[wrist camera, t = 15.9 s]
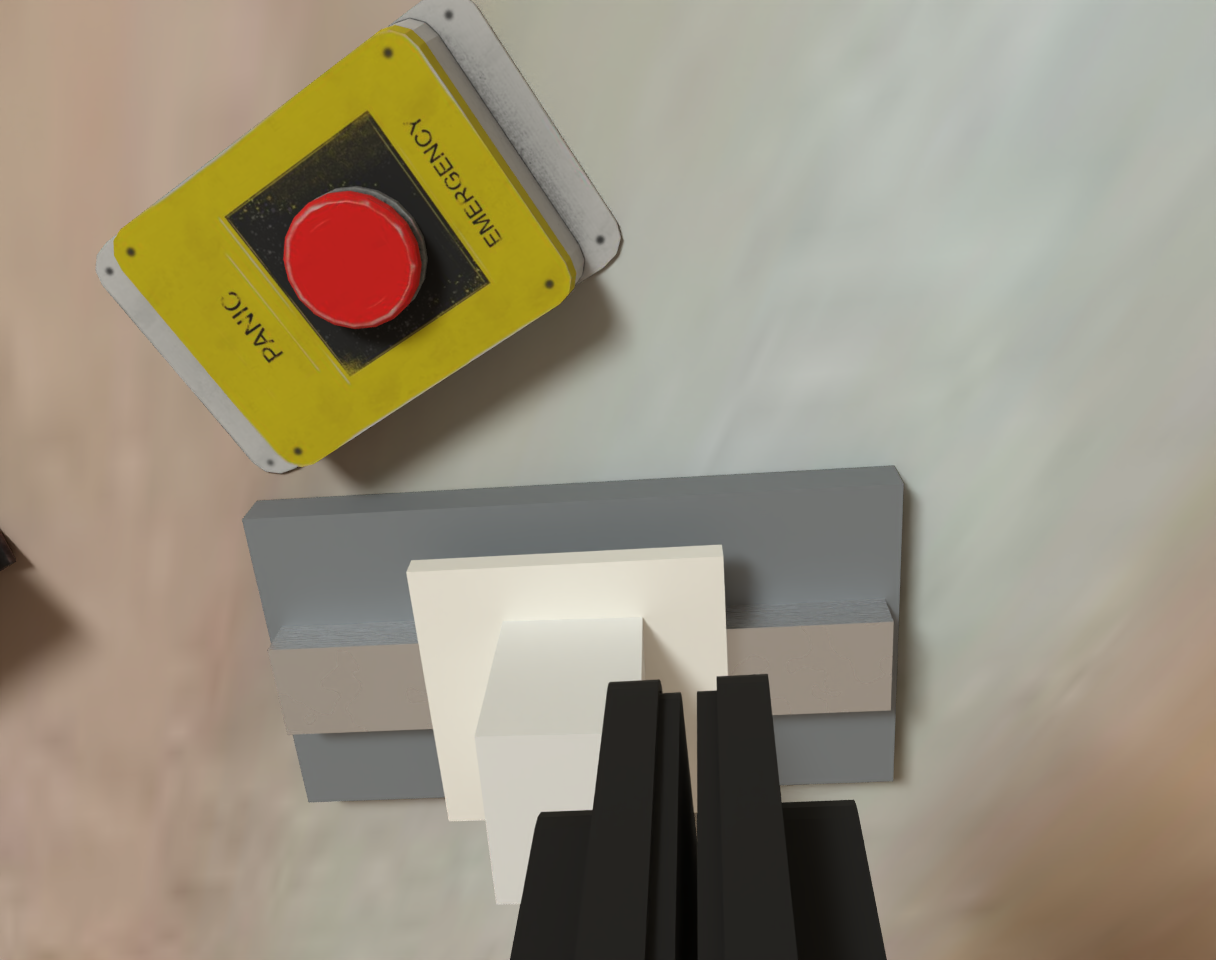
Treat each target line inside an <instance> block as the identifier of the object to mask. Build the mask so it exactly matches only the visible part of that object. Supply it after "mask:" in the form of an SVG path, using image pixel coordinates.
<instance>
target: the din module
mask: <svg viewBox="0 0 1216 960" xmlns="http://www.w3.org/2000/svg"><path fill="white" fill-rule="evenodd" d="M637 680H646V677H645V657H644V637H643V618H642V617H628V618H594V619H560V620H526V621H503V622H502V626H501V630H500V634H499V638H498V642H497V647H496V651H495V655H494V659H493V663H492V667H491V671H490V675H489V679H488V684H487V688H486V692H485V696H484V700H483V704H482V708H481V712H480V716H479V720H478V725H477V729H476V733H475V744H476V752H477V759H478V767H479V775H480V782H481V790H482V798H483V806H484V813H485V821H486V829H487V837H488V844H489V852H490V860H491V868H492V875H493V883H494V891H495V898H496V904H521V898H522V893H523V888H524V882H525V877H526V871H527V866H528V861H529V855H530V850H531V845H532V839H533V834H534V829H535V825H536V821H537V817H538V816H539V814H540V813H541V812H551V811H577V810H593V802H594V794H595V785H596V777H597V769H598V761H599V752H600V744H601V736H602V728H603V719H604V711H605V703H606V695H607V688H608V684H609V682H618V681H637Z"/></svg>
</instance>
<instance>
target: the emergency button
mask: <svg viewBox="0 0 1216 960" xmlns="http://www.w3.org/2000/svg"><path fill="white" fill-rule="evenodd" d="M620 239H621V234H620V231H619V227H618V224H617V221H616V219H615V218H614V216H613V215H612V213H611V211H610V210H609V208H608V207H607V205H606V204H605V202H604V201H603V199H602V198H601V196H600V195H599V193H598V191H597V190H596V188H595V187H594V185H593V184H592V182H591V181H590V179H589V178H588V176H587V175H586V173H585V171H584V170H583V168H582V167H581V165H580V164H579V162H578V161H577V159H576V158H575V156H574V155H573V153H572V151H571V150H570V148H569V147H568V145H567V144H566V142H565V141H564V139H563V138H562V136H561V134H560V133H559V131H558V130H557V128H556V127H555V125H554V124H553V122H552V121H551V119H550V118H549V116H548V114H547V113H546V111H545V110H544V108H543V107H542V105H541V104H540V102H539V101H538V99H537V98H536V96H535V94H534V93H533V91H532V90H531V88H530V87H529V85H528V84H527V82H526V81H525V79H524V78H523V76H522V74H521V73H520V71H519V70H518V68H517V67H516V65H515V64H514V62H513V61H512V59H511V57H510V56H509V54H508V53H507V51H506V50H505V48H504V47H503V45H502V44H501V42H500V41H499V39H498V37H497V36H496V34H495V33H494V31H493V30H492V28H491V27H490V25H489V24H488V22H487V21H486V19H485V17H484V16H483V14H482V13H481V11H480V10H479V8H478V7H477V5H476V4H475V3H474V2H472V1H471V0H422V1H421V2H419V3H418V4H417V5H415V6H414V7H413V8H411V9H410V10H409V11H407V12H406V13H405V14H404V15H402V16H401V17H400V18H398V19H397V20H396V21H394V22H393V23H392V24H391V25H389V26H388V27H387V28H384V29H381V30H380V31H378V32H377V33H376V34H374V35H373V36H372V37H371V38H369V39H368V40H367V41H365V42H364V43H363V44H361V45H360V46H359V47H357V48H356V49H355V50H354V51H352V52H351V53H350V54H348V55H347V56H346V57H344V58H343V59H342V60H341V61H339V62H338V63H337V64H335V65H334V66H333V67H331V68H330V69H329V70H328V71H326V72H325V73H324V74H322V75H321V76H320V77H318V78H317V79H316V80H314V81H313V82H312V83H311V84H309V85H308V86H307V87H305V88H304V89H303V90H301V91H300V92H299V93H298V94H296V95H295V96H294V97H292V98H291V99H290V100H288V101H287V102H286V103H285V104H283V105H282V106H281V107H279V108H278V109H277V110H275V111H274V112H273V113H271V114H270V115H269V116H268V117H266V118H265V119H264V120H262V121H261V122H260V123H258V124H257V125H256V126H255V127H253V128H252V129H251V130H249V131H248V132H247V133H245V134H244V135H243V136H241V137H240V138H239V139H238V140H236V141H235V142H234V143H232V144H231V145H230V146H228V147H227V148H226V149H225V150H223V151H222V152H221V153H219V154H218V155H217V156H215V157H214V158H213V159H212V160H210V161H209V162H208V163H206V164H205V165H204V166H202V167H201V168H200V169H198V170H197V171H196V172H195V173H193V174H192V175H191V176H189V177H188V178H187V179H185V180H184V181H183V182H182V183H180V184H179V185H178V186H176V187H175V188H174V189H172V190H171V191H170V192H168V193H167V194H166V195H165V196H163V197H162V198H161V199H159V200H158V201H157V202H155V203H154V204H153V205H152V206H150V207H149V208H148V209H146V210H145V211H144V212H142V213H141V214H140V215H139V216H137V217H136V218H135V219H133V220H132V221H131V222H129V223H128V224H127V225H125V226H124V227H123V228H122V229H120V231H119V232H118V234H117V235H115V236H114V237H113V238H111V239H110V240H109V241H107V242H106V244H105V245H104V246H103V248H102V249H101V250H100V252H99V253H98V254H97V261H96V273H97V275H98V277H99V279H100V281H101V283H102V285H103V287H104V288H105V289H106V290H107V291H108V293H109V294H110V295H111V296H112V297H113V298H114V300H115V301H116V302H117V303H118V304H119V305H120V307H121V308H122V309H123V310H124V311H125V313H126V314H127V315H128V316H129V317H130V318H131V320H132V321H133V322H134V323H135V324H136V326H137V327H138V328H139V329H140V330H141V331H142V333H143V334H144V335H145V336H146V337H147V338H148V340H149V341H150V342H151V343H152V344H153V346H154V347H155V348H156V349H157V350H158V351H159V353H160V354H161V355H162V356H163V357H164V358H165V360H166V361H167V362H168V363H169V364H170V366H171V367H172V368H173V369H174V370H175V371H176V373H177V374H178V375H179V376H180V377H181V379H182V380H183V381H184V382H185V383H186V384H187V386H188V387H189V388H190V389H191V390H192V391H193V393H194V394H195V395H196V396H197V397H198V399H199V400H200V401H201V402H202V403H203V404H204V406H205V407H206V408H207V409H208V410H209V411H210V413H211V414H212V415H213V416H214V417H215V419H216V420H217V421H218V422H219V423H220V424H221V426H222V427H223V428H224V429H225V430H226V432H227V433H228V434H229V435H230V436H231V437H232V439H233V440H234V441H235V442H236V443H237V444H238V446H239V447H240V448H241V449H242V450H243V452H244V453H245V454H246V455H247V456H248V457H249V459H250V460H251V461H252V462H253V463H254V464H255V465H257V466H258V467H260V468H261V469H263V470H264V471H266V472H274V473H284V472H286V471H289V470H292V469H295V468H297V467H298V466H299V467H304V466H308V465H311V464H315V463H316V462H318V461H319V460H321V459H322V458H324V457H325V456H327V455H328V454H330V453H331V452H333V451H335V450H336V449H338V448H339V447H341V446H342V445H344V444H345V443H347V442H348V441H350V440H351V439H353V438H355V437H356V436H358V435H359V434H361V433H362V432H364V431H365V430H367V429H368V428H370V427H371V426H373V425H375V424H376V423H378V422H379V421H381V420H382V419H384V418H385V417H387V416H388V415H390V414H391V413H393V412H395V411H396V410H398V409H399V408H401V407H402V406H404V405H405V404H407V403H408V402H410V401H411V400H413V399H415V398H416V397H418V396H419V395H421V394H422V393H424V392H425V391H427V390H428V389H430V388H431V387H433V386H435V385H436V384H438V383H439V382H441V381H442V380H444V379H445V378H447V377H448V376H450V375H451V374H453V373H455V372H456V371H458V370H459V369H461V368H462V367H464V366H465V365H467V364H468V363H470V362H471V361H473V360H475V359H476V358H478V357H479V356H481V355H482V354H484V353H485V352H487V351H488V350H490V349H491V348H493V347H495V346H496V345H498V344H499V343H501V342H502V341H504V340H505V339H507V338H508V337H510V336H511V335H513V334H515V333H516V332H518V331H519V330H521V329H522V328H524V327H525V326H527V325H528V324H530V323H531V322H533V321H535V320H536V319H538V318H539V317H541V316H542V315H544V314H545V313H547V312H548V311H550V310H551V309H553V308H555V307H556V306H558V305H559V304H560V303H561V302H562V301H563V300H564V299H565V298H566V297H567V296H568V295H569V294H570V292H571V291H572V290H573V289H574V287H575V286H576V285H577V284H579V283H580V282H582V281H583V280H585V279H586V278H588V277H590V276H591V275H593V274H594V273H596V272H597V271H599V270H600V269H602V268H603V267H604V266H605V265H606V264H607V263H608V262H609V261H610V260H611V259H612V258H613V257H614V256H615V255H616V253H617V250H618V246H619V243H620Z"/></svg>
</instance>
